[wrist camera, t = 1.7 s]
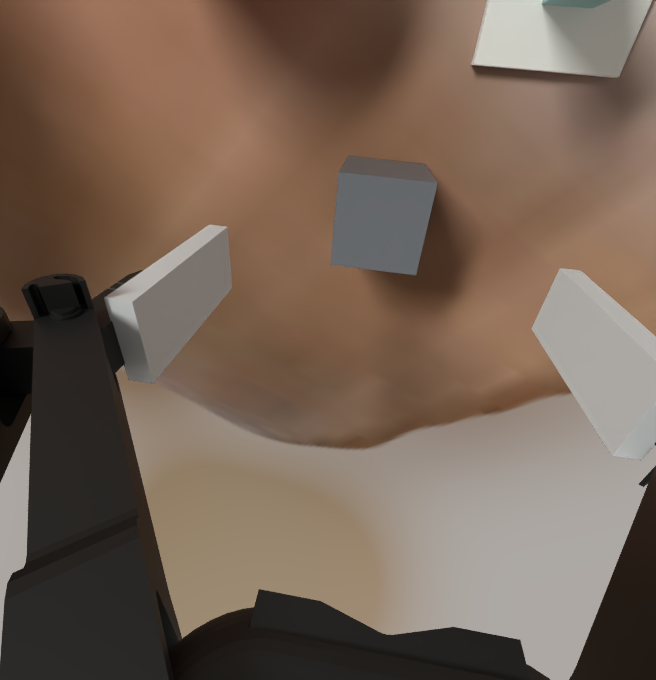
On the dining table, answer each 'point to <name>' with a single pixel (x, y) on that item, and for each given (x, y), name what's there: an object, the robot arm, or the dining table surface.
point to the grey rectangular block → (382, 214)
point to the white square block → (559, 35)
